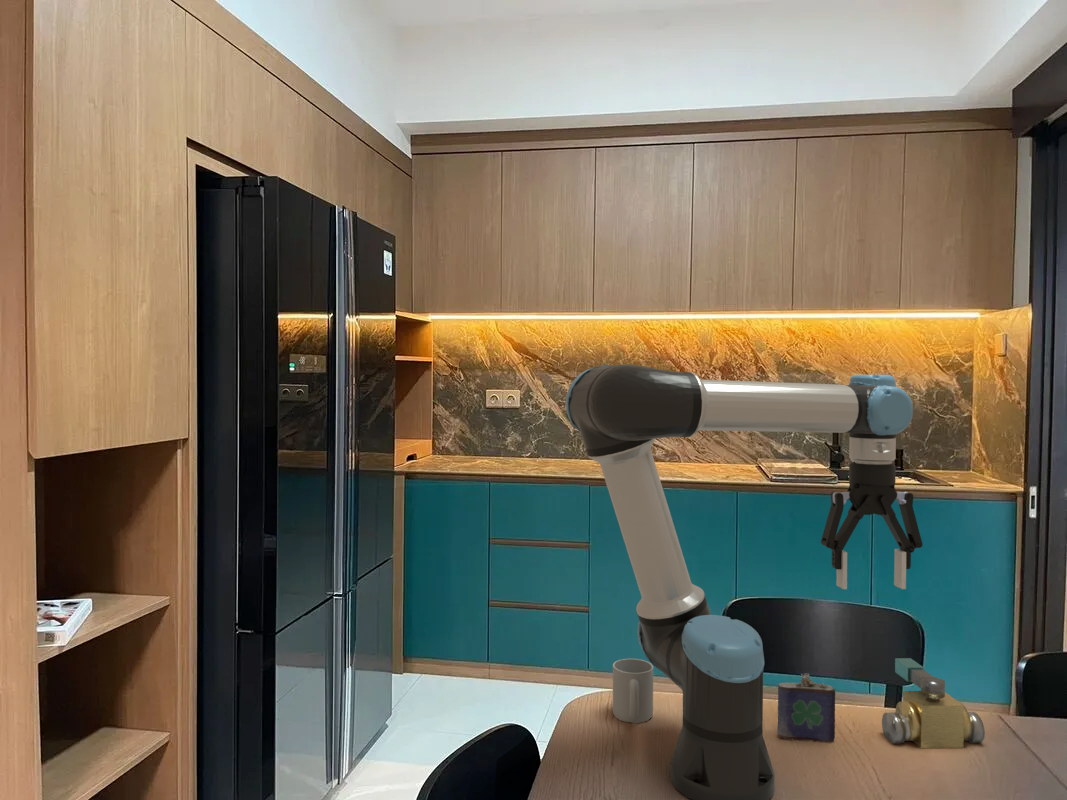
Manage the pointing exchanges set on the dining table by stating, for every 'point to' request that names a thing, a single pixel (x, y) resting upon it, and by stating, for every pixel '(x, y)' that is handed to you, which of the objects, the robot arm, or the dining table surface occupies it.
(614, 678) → the cup
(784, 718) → the flask
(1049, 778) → the dining table surface
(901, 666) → the lever
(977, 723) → the pipe valve
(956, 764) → the dining table surface
